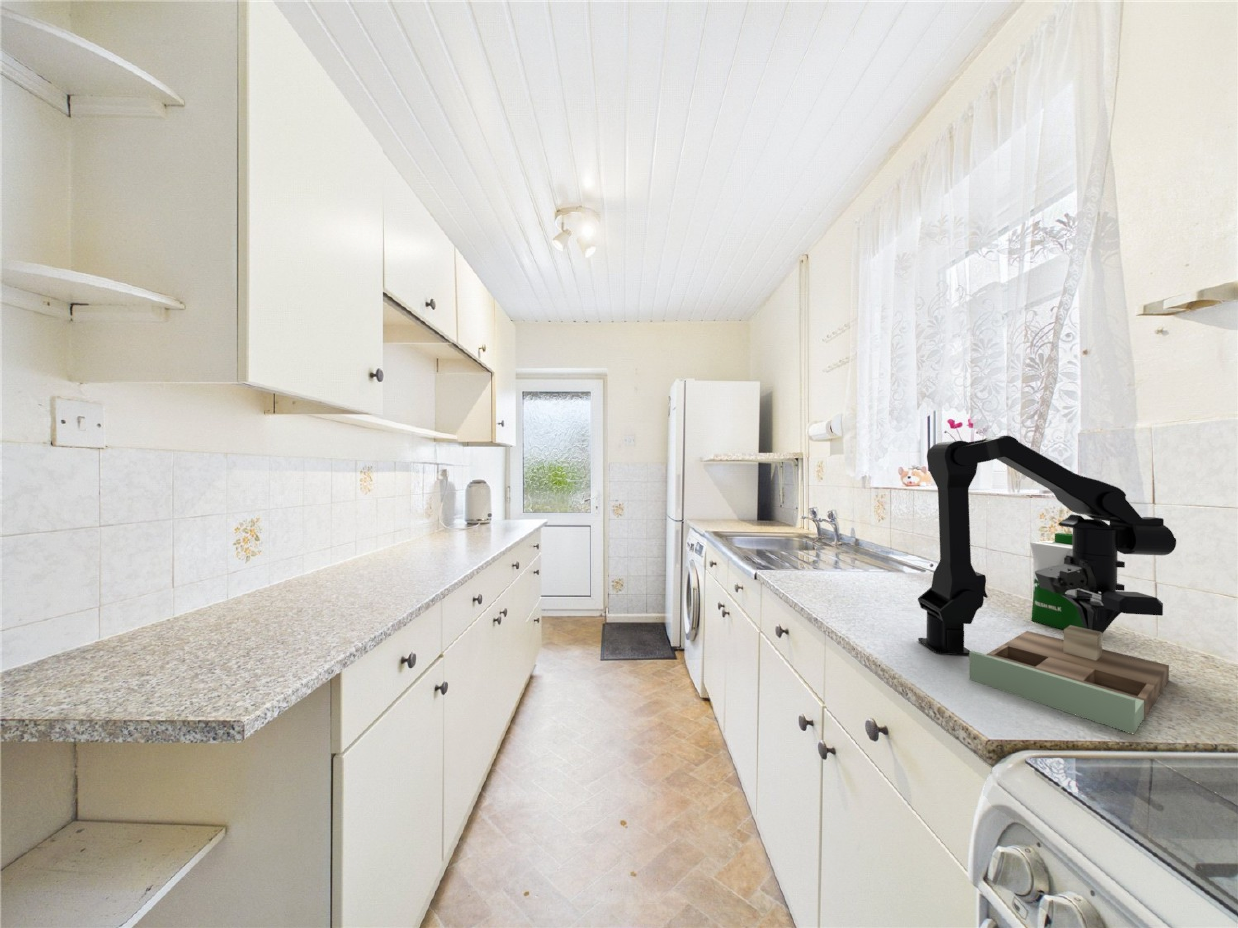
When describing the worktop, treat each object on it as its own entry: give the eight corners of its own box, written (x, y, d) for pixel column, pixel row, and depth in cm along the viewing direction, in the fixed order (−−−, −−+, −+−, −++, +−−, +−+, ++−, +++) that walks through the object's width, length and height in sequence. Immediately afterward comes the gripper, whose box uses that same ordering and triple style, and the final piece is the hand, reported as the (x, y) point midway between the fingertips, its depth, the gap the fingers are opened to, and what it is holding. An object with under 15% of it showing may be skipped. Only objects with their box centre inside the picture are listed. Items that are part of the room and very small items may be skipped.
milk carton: (1098, 629, 98) (1099, 537, 98) (1071, 633, 95) (1072, 538, 95) (1049, 616, 106) (1050, 531, 106) (1023, 619, 104) (1024, 532, 104)
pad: (985, 668, 78) (986, 642, 78) (1143, 718, 63) (1144, 686, 63) (969, 679, 74) (969, 651, 74) (1133, 734, 59) (1133, 700, 59)
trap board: (1026, 643, 90) (1026, 630, 90) (1168, 680, 75) (1168, 665, 75) (985, 668, 78) (985, 654, 78) (1143, 718, 63) (1144, 700, 63)
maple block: (1070, 647, 82) (1070, 625, 82) (1101, 655, 78) (1102, 632, 78) (1063, 652, 79) (1063, 629, 79) (1096, 660, 76) (1096, 636, 76)
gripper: (1009, 542, 94) (1008, 618, 94) (1088, 561, 75) (1087, 655, 75) (1071, 544, 92) (1070, 621, 92) (1167, 564, 73) (1165, 661, 73)
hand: (1093, 637), depth 83 cm, fingers closed
